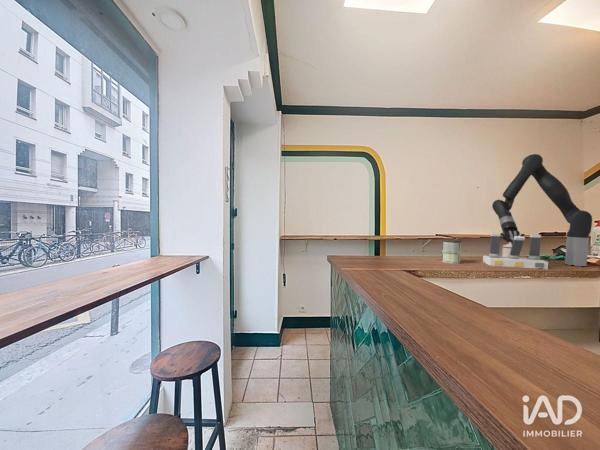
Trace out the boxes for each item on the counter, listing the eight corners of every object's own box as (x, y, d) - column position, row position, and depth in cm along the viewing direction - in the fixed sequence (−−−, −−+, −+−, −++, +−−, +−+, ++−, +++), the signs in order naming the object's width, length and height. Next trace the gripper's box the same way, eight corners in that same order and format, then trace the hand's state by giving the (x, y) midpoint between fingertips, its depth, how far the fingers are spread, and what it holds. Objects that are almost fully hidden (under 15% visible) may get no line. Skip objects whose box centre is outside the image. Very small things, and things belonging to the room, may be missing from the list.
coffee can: (438, 260, 176) (439, 238, 175) (455, 260, 175) (456, 239, 174) (445, 263, 165) (446, 240, 164) (463, 263, 164) (464, 241, 163)
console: (536, 264, 163) (536, 258, 163) (548, 269, 151) (548, 262, 151) (482, 261, 171) (483, 255, 171) (490, 265, 159) (490, 259, 159)
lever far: (498, 257, 164) (499, 233, 164) (499, 257, 162) (501, 233, 161) (488, 256, 166) (490, 233, 165) (490, 257, 164) (491, 233, 163)
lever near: (537, 259, 159) (539, 234, 158) (540, 260, 156) (541, 234, 155) (528, 258, 160) (529, 234, 159) (530, 259, 158) (531, 234, 157)
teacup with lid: (518, 261, 173) (519, 243, 173) (501, 259, 179) (502, 242, 178) (518, 258, 183) (519, 241, 182) (502, 257, 188) (503, 240, 188)
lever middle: (517, 257, 162) (523, 236, 155) (518, 259, 160) (525, 238, 153) (507, 256, 163) (514, 235, 156) (509, 258, 161) (515, 238, 154)
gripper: (497, 220, 169) (504, 242, 158) (522, 221, 165) (532, 243, 154) (493, 228, 174) (500, 249, 164) (518, 228, 170) (526, 251, 160)
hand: (515, 246), depth 159 cm, fingers closed
